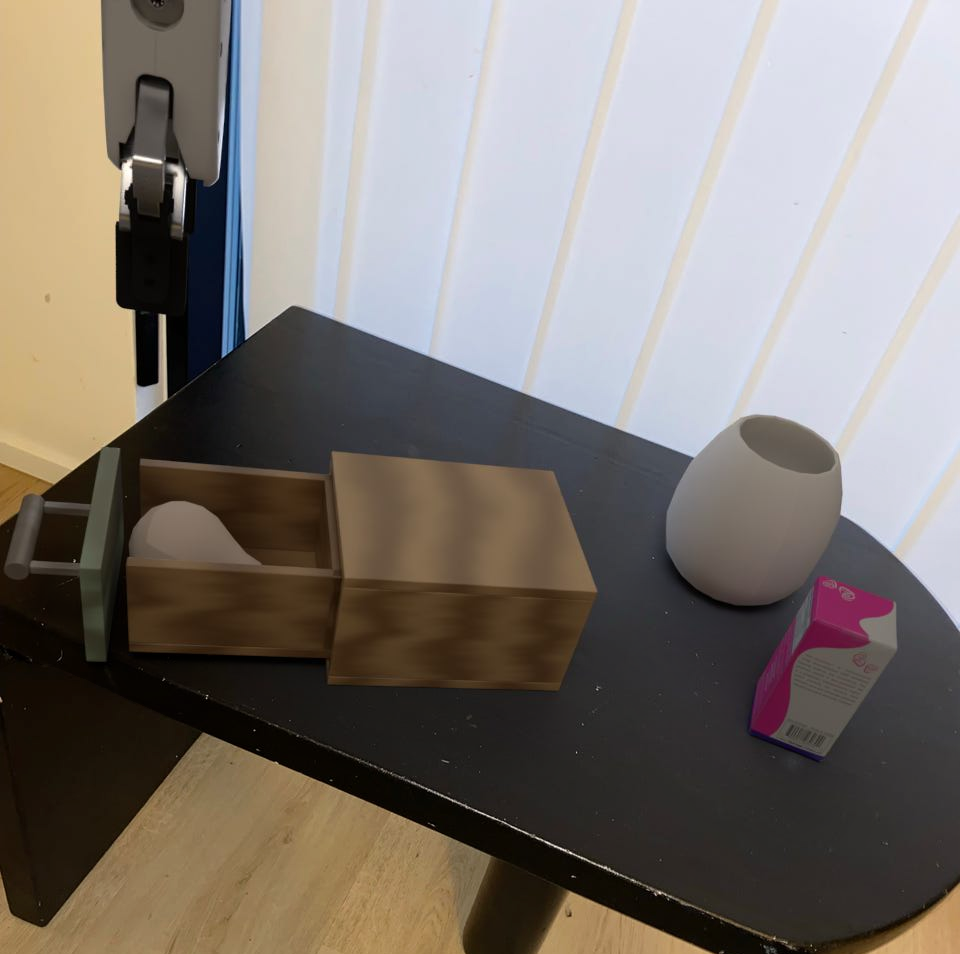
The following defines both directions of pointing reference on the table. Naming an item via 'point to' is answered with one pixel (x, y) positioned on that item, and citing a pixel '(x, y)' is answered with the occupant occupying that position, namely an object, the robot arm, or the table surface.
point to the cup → (755, 510)
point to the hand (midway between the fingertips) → (158, 266)
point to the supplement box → (823, 667)
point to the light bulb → (185, 536)
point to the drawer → (204, 585)
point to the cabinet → (454, 576)
